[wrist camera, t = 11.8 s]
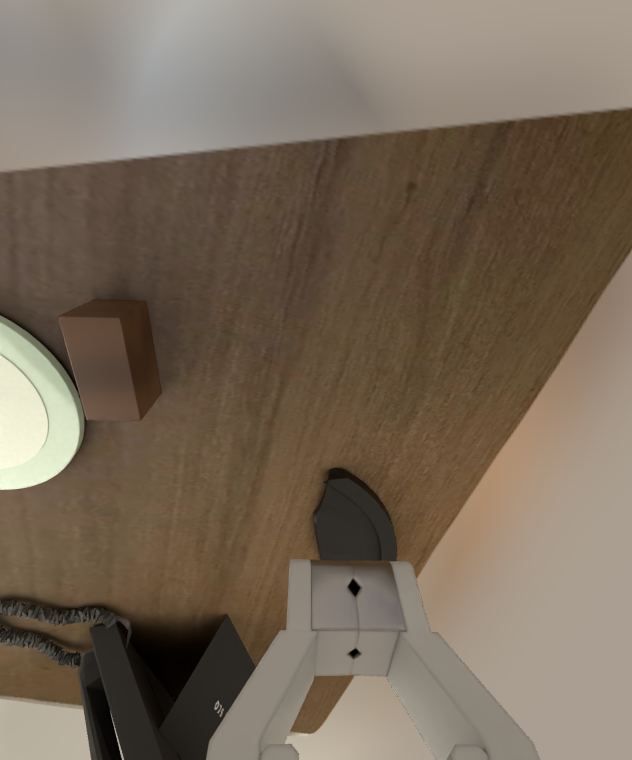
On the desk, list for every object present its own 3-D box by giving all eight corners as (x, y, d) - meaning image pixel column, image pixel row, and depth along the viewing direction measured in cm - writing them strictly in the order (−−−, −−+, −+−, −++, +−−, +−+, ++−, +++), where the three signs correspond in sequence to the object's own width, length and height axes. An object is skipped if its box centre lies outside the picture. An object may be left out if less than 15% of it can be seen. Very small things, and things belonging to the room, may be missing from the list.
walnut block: (93, 299, 28) (57, 316, 24) (146, 300, 28) (119, 317, 24) (114, 392, 31) (86, 420, 27) (162, 392, 32) (140, 421, 28)
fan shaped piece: (391, 461, 35) (395, 472, 34) (394, 556, 41) (397, 569, 40) (306, 471, 36) (306, 482, 34) (321, 564, 42) (322, 577, 40)
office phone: (-31, 599, 43) (-276, 890, 25) (201, 561, 41) (117, 846, 23) (88, 718, 56) (-17, 967, 38) (269, 693, 54) (250, 943, 36)
